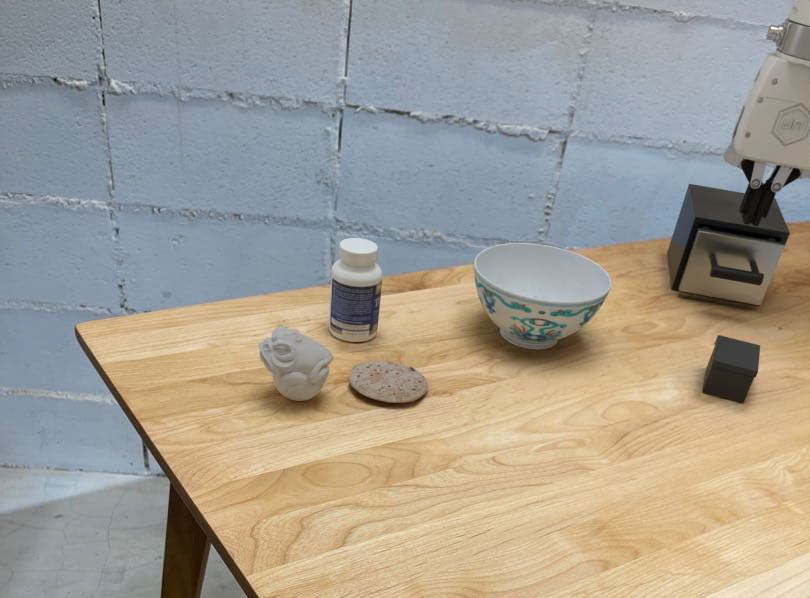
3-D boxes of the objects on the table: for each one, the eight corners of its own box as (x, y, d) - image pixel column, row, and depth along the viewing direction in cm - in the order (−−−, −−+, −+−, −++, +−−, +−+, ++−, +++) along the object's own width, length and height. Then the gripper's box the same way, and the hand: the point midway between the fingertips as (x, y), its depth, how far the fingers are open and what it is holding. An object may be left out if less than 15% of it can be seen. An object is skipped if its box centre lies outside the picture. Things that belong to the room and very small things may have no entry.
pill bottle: (382, 343, 91) (390, 256, 85) (333, 344, 90) (338, 256, 83) (371, 319, 95) (378, 234, 88) (324, 320, 93) (328, 234, 87)
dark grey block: (705, 366, 95) (718, 334, 92) (746, 377, 94) (760, 345, 91) (700, 392, 90) (713, 359, 87) (744, 404, 89) (758, 371, 87)
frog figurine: (256, 381, 83) (255, 315, 78) (327, 379, 84) (330, 315, 79) (261, 415, 78) (260, 348, 74) (336, 413, 80) (339, 347, 75)
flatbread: (438, 381, 86) (439, 372, 85) (408, 415, 80) (409, 406, 80) (367, 358, 88) (368, 349, 87) (333, 390, 82) (334, 381, 82)
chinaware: (610, 330, 99) (628, 267, 94) (568, 383, 89) (586, 316, 83) (494, 293, 103) (505, 231, 98) (442, 340, 93) (451, 273, 88)
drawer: (765, 322, 103) (791, 261, 98) (680, 307, 104) (701, 245, 99) (749, 269, 116) (771, 212, 111) (674, 255, 117) (692, 199, 112)
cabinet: (760, 306, 109) (790, 233, 103) (671, 289, 110) (695, 216, 104) (748, 267, 119) (775, 198, 113) (667, 252, 120) (689, 183, 113)
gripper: (748, 40, 85) (688, 220, 97) (898, 65, 84) (818, 244, 96) (740, 27, 91) (684, 199, 103) (881, 51, 90) (807, 222, 102)
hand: (749, 221), depth 99 cm, fingers closed
